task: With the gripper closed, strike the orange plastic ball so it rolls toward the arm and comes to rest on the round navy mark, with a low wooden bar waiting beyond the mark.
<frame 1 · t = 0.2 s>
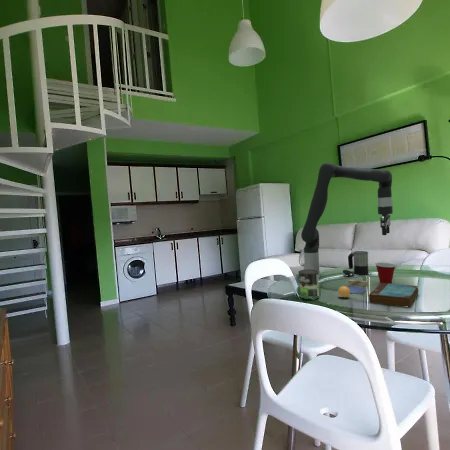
hand: (385, 234, 184), 29 cm above the table, tool pointing down, fingers open, 8 cm apart
book: (394, 299, 162), on the table
stopper bar: (357, 285, 190), on the table
plastic cup: (386, 284, 187), on the table
milk frother: (356, 275, 213), on the table
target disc: (352, 290, 181), on the table
coffee can: (309, 297, 173), on the table
ball: (344, 291, 168), on the table
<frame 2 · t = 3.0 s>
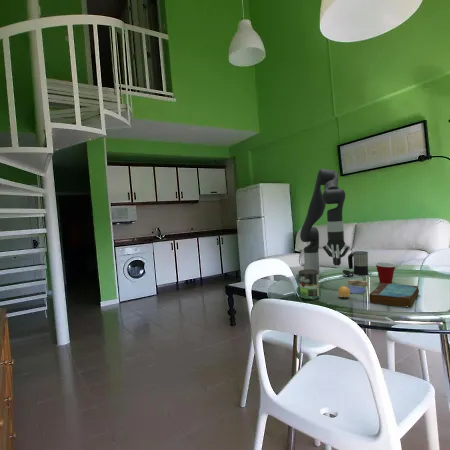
hand: (337, 265, 160), 19 cm above the table, tool pointing down, fingers closed
nothing on the table moved.
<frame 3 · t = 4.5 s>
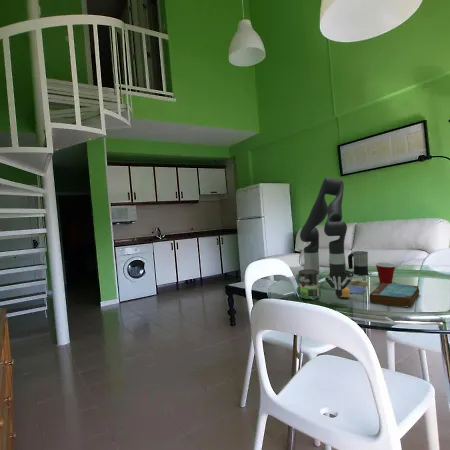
hand: (339, 296, 161), 3 cm above the table, tool pointing down, fingers closed
nothing on the table moved.
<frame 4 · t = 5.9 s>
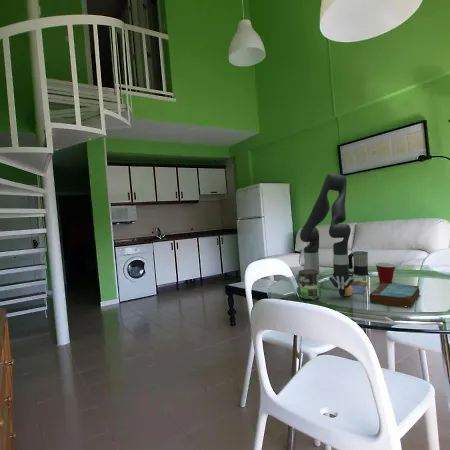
hand: (342, 295, 169), 1 cm above the table, tool pointing down, fingers closed
ball: (346, 290, 171), on the table, touching gripper
everything else where it was.
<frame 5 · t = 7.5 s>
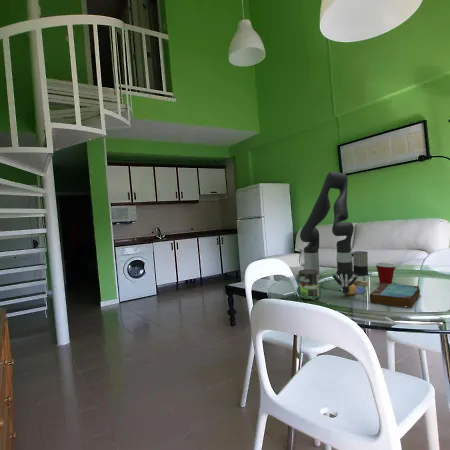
hand: (345, 293, 170), 2 cm above the table, tool pointing down, fingers closed
ball: (350, 289, 173), on the table, touching gripper
everything else where it was.
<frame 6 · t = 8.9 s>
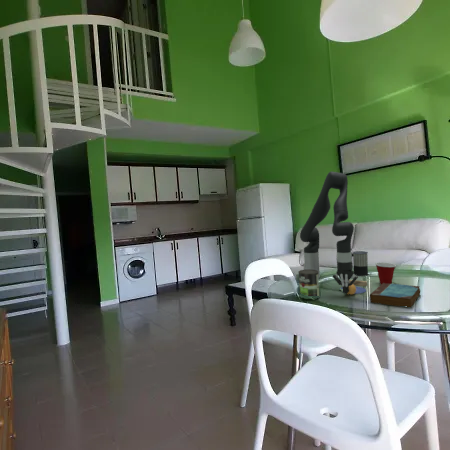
hand: (345, 293, 170), 2 cm above the table, tool pointing down, fingers closed
nothing on the table moved.
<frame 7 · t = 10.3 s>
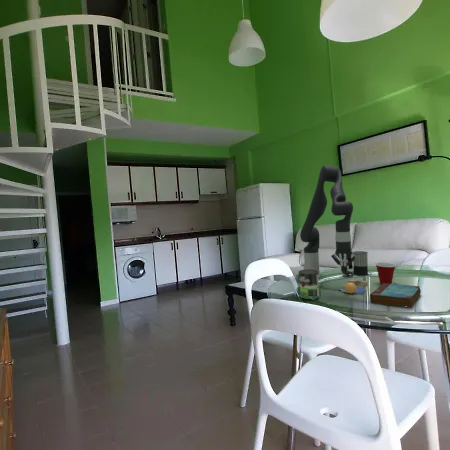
hand: (344, 272, 170), 12 cm above the table, tool pointing down, fingers closed
ball: (350, 287, 175), on the table
everything else where it was.
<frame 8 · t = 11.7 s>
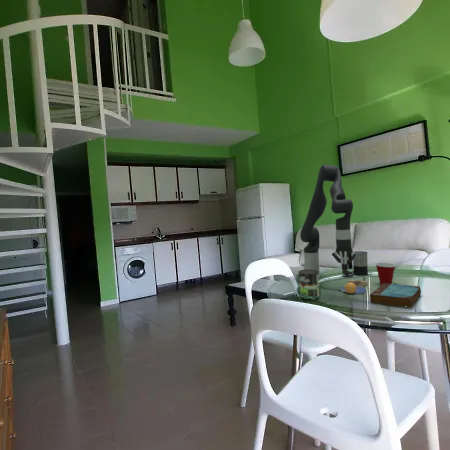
hand: (345, 270, 170), 13 cm above the table, tool pointing down, fingers closed
nothing on the table moved.
at the end: ball 6.6 cm from the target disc (horizontally); ball at rest at the end (0.0 cm/s); ball moved 8.5 cm from its start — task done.
